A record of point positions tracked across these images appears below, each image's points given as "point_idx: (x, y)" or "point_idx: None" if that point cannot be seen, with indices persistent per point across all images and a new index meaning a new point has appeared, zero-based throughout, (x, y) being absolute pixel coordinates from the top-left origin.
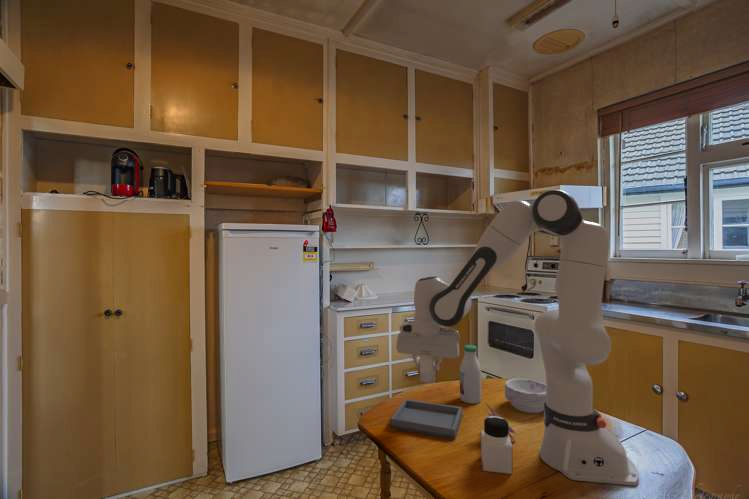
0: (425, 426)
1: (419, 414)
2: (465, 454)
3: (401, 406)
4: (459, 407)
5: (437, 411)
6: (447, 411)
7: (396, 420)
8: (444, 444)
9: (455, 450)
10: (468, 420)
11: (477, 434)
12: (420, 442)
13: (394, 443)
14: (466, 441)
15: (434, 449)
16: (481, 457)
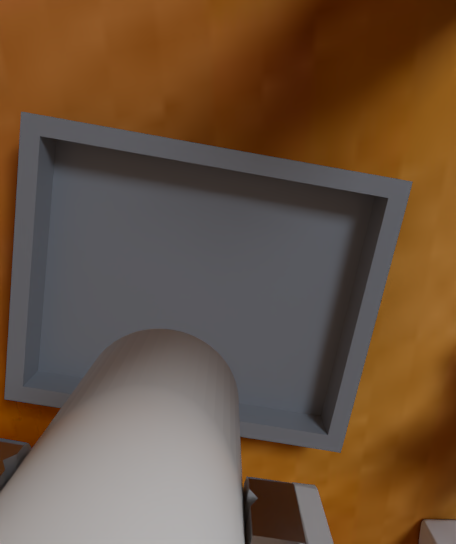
0: None
1: (147, 242)
2: (360, 516)
3: (25, 237)
4: (393, 187)
5: (249, 183)
6: (310, 184)
7: (38, 401)
8: (281, 464)
9: (324, 497)
10: (417, 226)
11: (438, 362)
12: None
13: None
14: (377, 428)
15: None
16: (420, 542)
